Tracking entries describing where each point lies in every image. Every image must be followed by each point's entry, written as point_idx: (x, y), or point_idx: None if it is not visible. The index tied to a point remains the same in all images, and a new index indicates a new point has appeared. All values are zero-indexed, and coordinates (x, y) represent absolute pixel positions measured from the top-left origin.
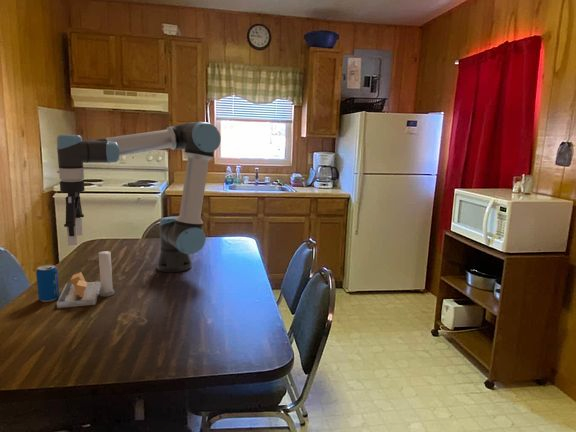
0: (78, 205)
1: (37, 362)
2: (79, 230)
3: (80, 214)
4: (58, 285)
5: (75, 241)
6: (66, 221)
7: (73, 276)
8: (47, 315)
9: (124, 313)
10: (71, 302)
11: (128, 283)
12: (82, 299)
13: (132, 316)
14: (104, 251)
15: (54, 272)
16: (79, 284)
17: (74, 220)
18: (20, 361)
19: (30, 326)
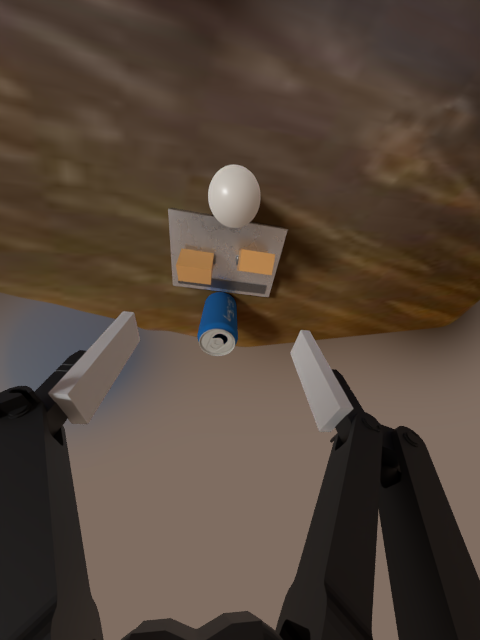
0: (62, 632)
1: (423, 305)
2: (124, 339)
3: (43, 432)
4: (221, 302)
5: (313, 344)
6: (400, 478)
7: (192, 279)
8: (289, 303)
9: (373, 162)
10: (274, 274)
11: (160, 108)
12: (275, 255)
13: (405, 142)
14: (211, 197)
15: (231, 325)
16: (266, 269)
17: (379, 457)
18: (403, 320)
19: (314, 319)
